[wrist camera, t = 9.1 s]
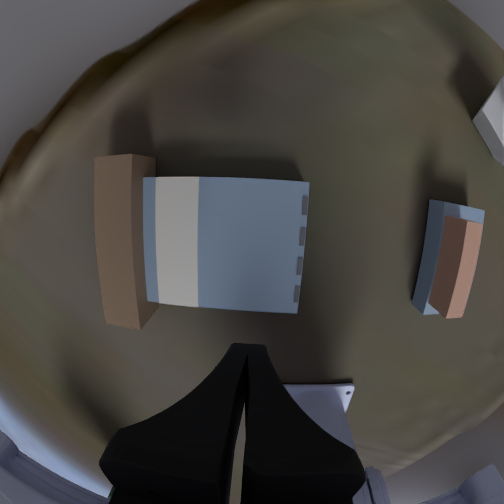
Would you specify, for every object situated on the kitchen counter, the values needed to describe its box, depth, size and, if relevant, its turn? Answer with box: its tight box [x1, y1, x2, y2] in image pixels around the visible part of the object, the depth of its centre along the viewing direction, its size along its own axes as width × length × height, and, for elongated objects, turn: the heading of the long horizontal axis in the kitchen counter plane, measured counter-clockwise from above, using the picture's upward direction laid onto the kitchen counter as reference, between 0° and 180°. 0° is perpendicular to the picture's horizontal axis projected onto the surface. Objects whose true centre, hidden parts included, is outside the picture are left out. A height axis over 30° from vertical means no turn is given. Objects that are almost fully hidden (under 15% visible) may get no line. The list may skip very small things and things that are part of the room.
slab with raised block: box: [412, 199, 485, 318], centre depth 17 cm, size 9×5×5 cm, turn 177°
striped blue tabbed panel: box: [94, 154, 310, 330], centre depth 18 cm, size 12×14×4 cm
